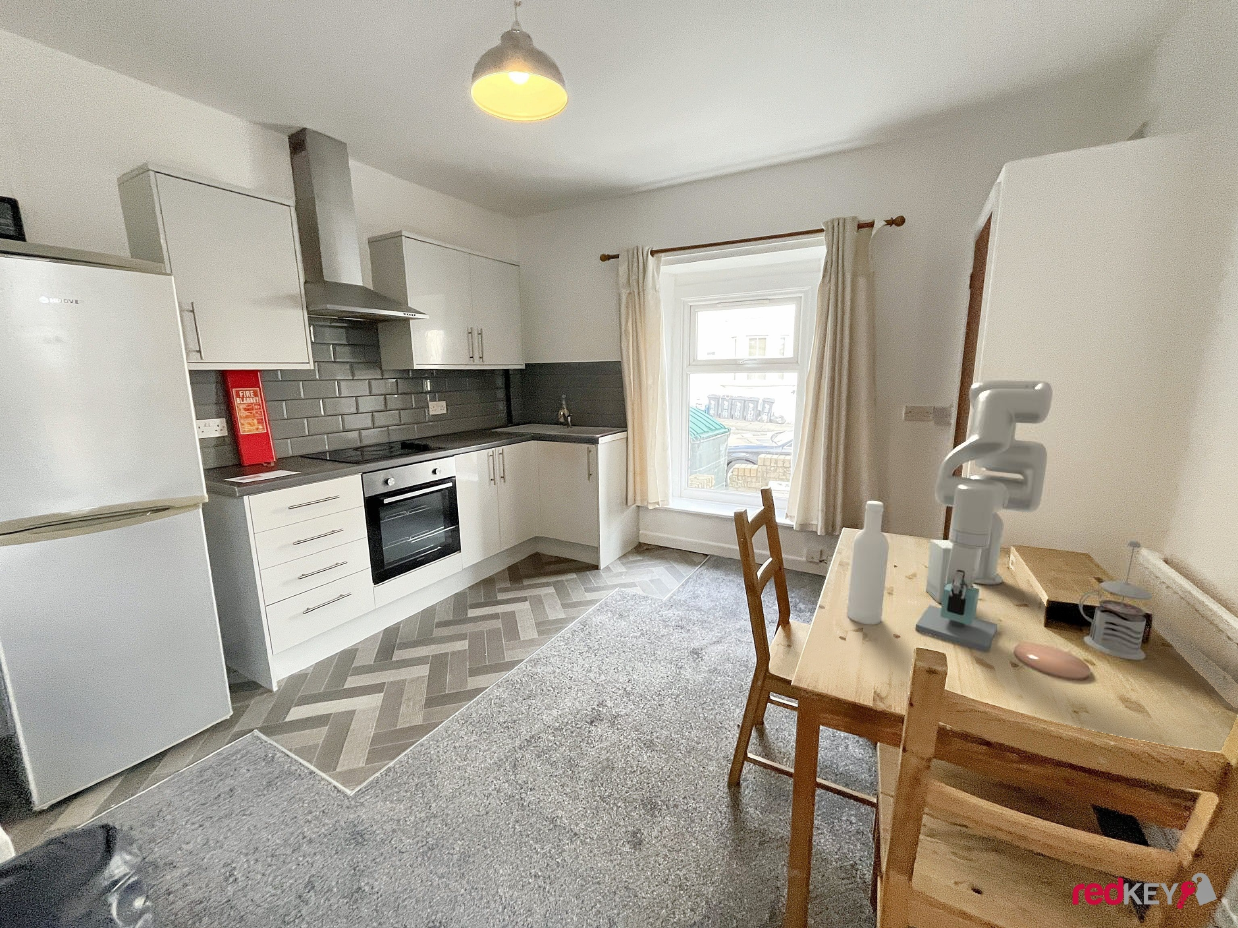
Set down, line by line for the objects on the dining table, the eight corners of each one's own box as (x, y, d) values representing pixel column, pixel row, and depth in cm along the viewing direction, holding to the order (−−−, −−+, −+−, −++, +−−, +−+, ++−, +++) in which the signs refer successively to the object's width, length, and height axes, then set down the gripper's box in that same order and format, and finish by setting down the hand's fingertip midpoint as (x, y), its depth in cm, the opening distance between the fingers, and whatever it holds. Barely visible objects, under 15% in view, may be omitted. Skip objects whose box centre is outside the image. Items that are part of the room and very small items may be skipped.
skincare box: (963, 605, 126) (971, 550, 124) (936, 603, 128) (943, 548, 125) (949, 592, 134) (956, 539, 132) (923, 590, 136) (929, 538, 133)
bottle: (880, 613, 122) (892, 500, 117) (882, 627, 115) (895, 508, 110) (845, 607, 125) (856, 497, 120) (846, 620, 118) (857, 504, 113)
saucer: (1016, 640, 109) (1017, 636, 109) (1089, 662, 101) (1090, 658, 101) (1010, 662, 101) (1011, 658, 101) (1089, 688, 93) (1090, 683, 93)
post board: (929, 610, 124) (933, 575, 122) (996, 629, 114) (1002, 592, 113) (915, 630, 114) (919, 593, 112) (987, 653, 104) (994, 613, 103)
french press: (1153, 664, 100) (1178, 552, 96) (1079, 648, 106) (1099, 542, 102) (1136, 643, 109) (1158, 538, 104) (1068, 629, 115) (1086, 530, 110)
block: (945, 607, 118) (949, 581, 116) (975, 616, 114) (979, 588, 112) (940, 616, 114) (943, 589, 112) (971, 625, 109) (975, 597, 108)
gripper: (956, 526, 119) (948, 590, 122) (941, 542, 107) (932, 613, 109) (994, 532, 114) (984, 599, 116) (983, 550, 101) (972, 624, 104)
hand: (959, 606), depth 113 cm, fingers open, 9 cm apart
